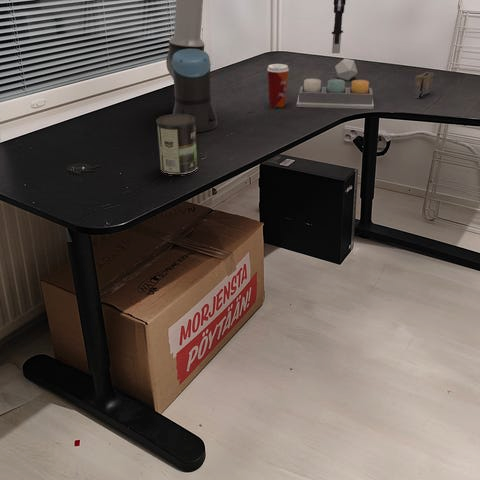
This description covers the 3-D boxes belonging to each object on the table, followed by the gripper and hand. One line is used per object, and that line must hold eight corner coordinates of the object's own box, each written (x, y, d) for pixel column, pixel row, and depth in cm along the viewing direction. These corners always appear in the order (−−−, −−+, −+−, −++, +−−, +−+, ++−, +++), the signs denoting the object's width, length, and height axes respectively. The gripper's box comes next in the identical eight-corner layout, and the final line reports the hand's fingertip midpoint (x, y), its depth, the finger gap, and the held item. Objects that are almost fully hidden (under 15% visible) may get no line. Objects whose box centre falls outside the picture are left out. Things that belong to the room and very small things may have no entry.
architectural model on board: (419, 100, 223) (423, 73, 218) (412, 99, 224) (415, 72, 219) (431, 93, 230) (435, 67, 226) (424, 92, 232) (427, 66, 227)
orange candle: (350, 100, 216) (351, 83, 213) (350, 95, 221) (351, 79, 218) (367, 101, 215) (369, 84, 212) (367, 96, 220) (368, 79, 217)
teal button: (326, 99, 217) (327, 83, 214) (327, 95, 222) (328, 78, 219) (343, 100, 216) (344, 83, 213) (343, 95, 221) (344, 79, 218)
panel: (296, 106, 216) (297, 94, 214) (298, 96, 227) (299, 84, 225) (373, 109, 212) (374, 96, 210) (372, 98, 224) (373, 86, 221)
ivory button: (303, 99, 218) (303, 82, 215) (303, 94, 223) (304, 78, 220) (319, 99, 217) (320, 83, 214) (320, 95, 222) (321, 78, 219)
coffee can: (197, 161, 172) (195, 112, 165) (198, 175, 163) (195, 124, 156) (160, 162, 171) (157, 114, 164) (159, 176, 162) (155, 126, 155)
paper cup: (286, 108, 214) (287, 68, 207) (265, 107, 215) (265, 68, 208) (289, 102, 221) (290, 63, 214) (268, 101, 222) (268, 62, 215)
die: (360, 81, 248) (357, 58, 250) (354, 74, 241) (350, 51, 242) (341, 86, 252) (338, 64, 253) (334, 80, 244) (331, 58, 246)
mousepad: (102, 165, 171) (101, 162, 171) (97, 175, 165) (97, 173, 164) (69, 165, 171) (68, 163, 171) (63, 176, 164) (62, 174, 164)
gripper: (352, -18, 194) (346, 57, 206) (352, -22, 205) (346, 49, 217) (329, -19, 195) (324, 56, 207) (330, -23, 207) (325, 48, 218)
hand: (335, 52), depth 212 cm, fingers closed
